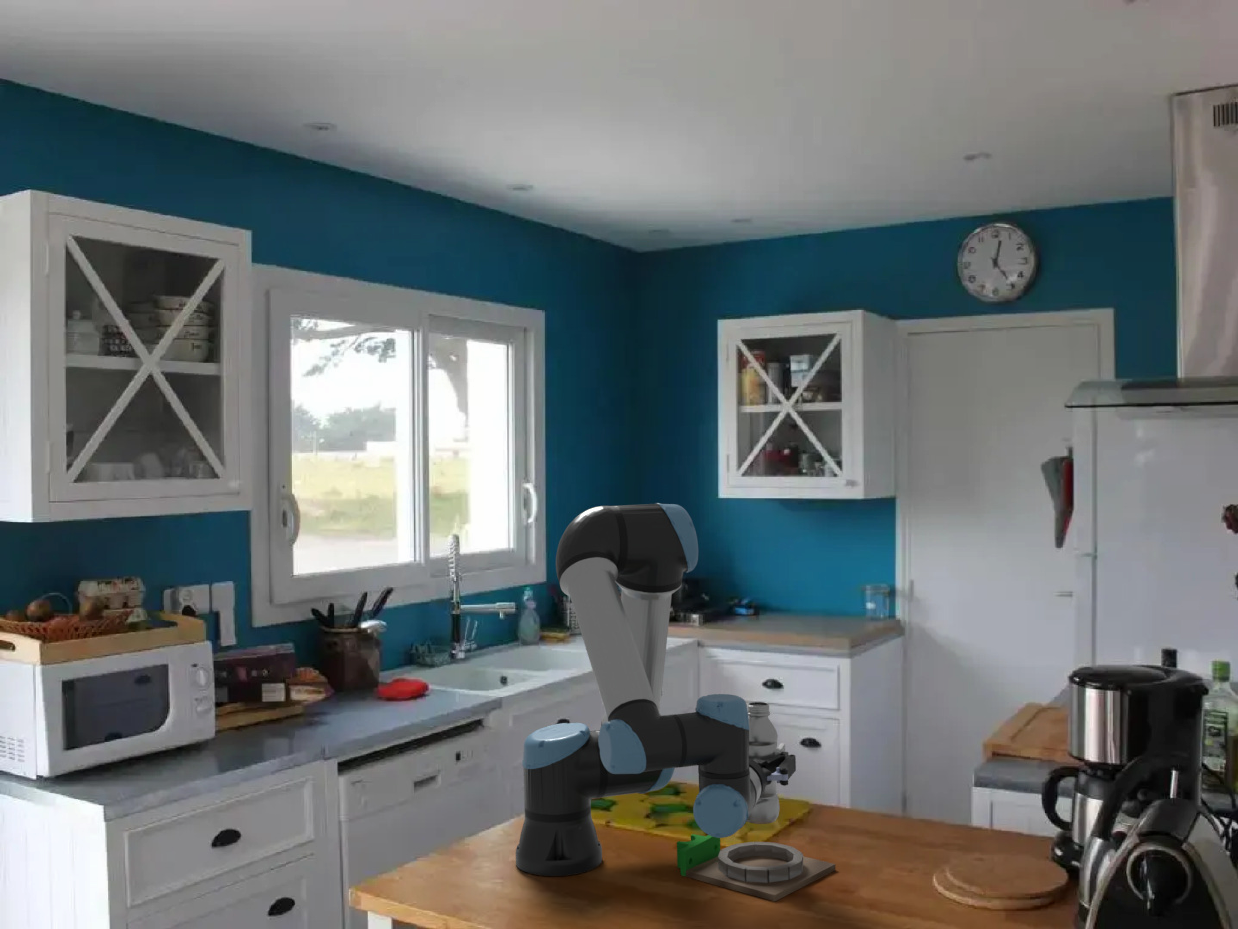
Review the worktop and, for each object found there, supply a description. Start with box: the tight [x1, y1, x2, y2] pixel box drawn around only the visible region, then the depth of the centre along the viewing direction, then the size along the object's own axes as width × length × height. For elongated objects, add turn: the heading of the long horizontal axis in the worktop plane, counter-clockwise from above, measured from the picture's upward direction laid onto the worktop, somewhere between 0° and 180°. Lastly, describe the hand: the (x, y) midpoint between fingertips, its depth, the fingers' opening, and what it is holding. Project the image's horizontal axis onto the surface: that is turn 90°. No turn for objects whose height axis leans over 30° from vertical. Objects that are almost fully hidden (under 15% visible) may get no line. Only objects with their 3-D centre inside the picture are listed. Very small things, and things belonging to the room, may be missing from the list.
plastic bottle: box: [746, 701, 780, 825], centre depth 203 cm, size 6×7×20 cm
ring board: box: [685, 841, 836, 902], centre depth 203 cm, size 18×18×3 cm
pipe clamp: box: [676, 833, 721, 877], centre depth 208 cm, size 11×4×5 cm, turn 144°
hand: (763, 750), depth 208 cm, fingers closed on plastic bottle, 6 cm apart
